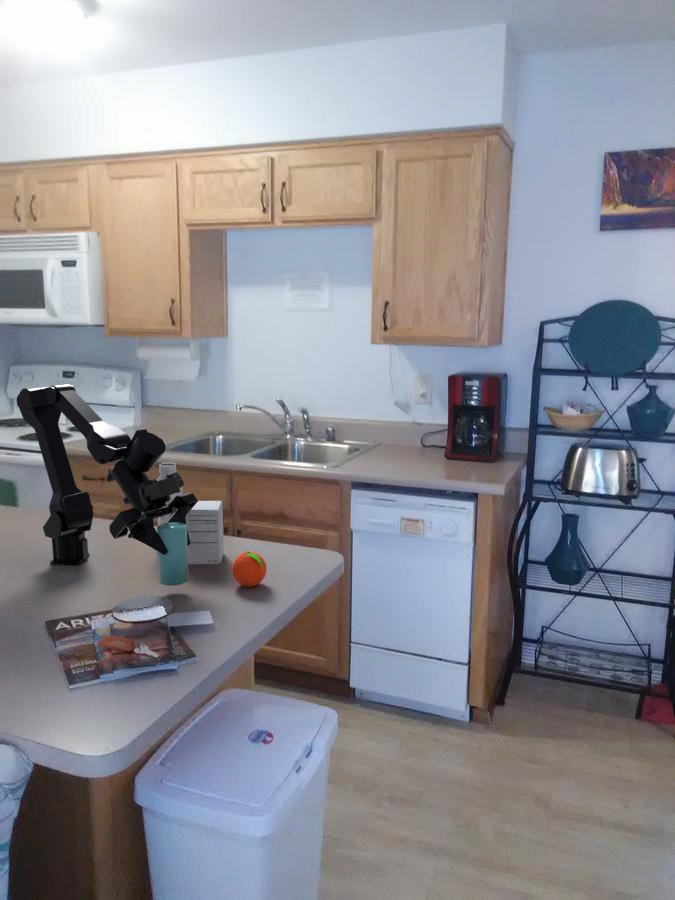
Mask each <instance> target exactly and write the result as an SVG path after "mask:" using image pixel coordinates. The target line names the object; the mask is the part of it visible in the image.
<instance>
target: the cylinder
mask: <svg viewBox="0 0 675 900" xmlns="http://www.w3.org/2000/svg"><path fill="white" fill-rule="evenodd" d="M156 531H157V533H158V535H159V536H160V538H161V539H162V541H163V543H164V544H165V546H166V548H167V550H168V553H167V554H166V555H163V554H161V553H160V552H158V551H157V555H158V557H157V558H158V582H159V583H160V584H161V585H164V586H170V587H171V586H172V587H173V586H180V585H182V584H183V585H184V584H185V583H187V582H188V581H189V564H188V548H187V525H186V524H184V523H180V522H169V523H164V524H160V525H159V526H158V525H157V527H156Z"/></svg>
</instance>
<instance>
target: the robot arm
mask: <svg viewBox="0 0 675 900" xmlns="http://www.w3.org/2000/svg"><path fill="white" fill-rule="evenodd" d="M16 405H17V408H18V409H19V411H20V414H21V417H22V418H23V420H24V421H25V422H26V423H27V424H28V425H29V426H30V427H31V428H32V429H33V430H34V432H35V435H36V439H37V443H38V445H39V449H40V453H41V457H42V459H43V460H42V461H43V463H44V466H45V471H46V473H47V477H48V480H49V483H50V487H51V491H52V496H51V499H50V502H49V505H48V508H49V515H50V516H48V519H47V521H46V522H45V523H44V525H43V526H42V529H43V530H42V531H43V533H44V536H45V537H46V538H50V539H51V546H52V560H50V561H49V564H50V565H68V566H71V565H74V566H75V565H77V566H78V565H80V564H81V563H82V562H84V560H86V559H87V558H88V557H89V556H90V552H89V546H88V544H89V543H88V538H86V534H85V532H89V531H91V529H92V525H93V524H92V523H93V519H94V510H93V509H94V506H93V504H92V502H91V496H90V494H89V493H88V491H83V490H82V489H80V488H79V487H78V486H77V484H76V483H77V482H76V480H75V477H74V473H73V470H72V466H71V463H70V460H69V456H68V453H67V450H66V449H67V448H66V446H65V442H64V439H63V435H62V432H61V429H60V426H59V422H60V418H61V416H62V414H63V416H65V418H66V419H68V421H69V422H70V423H71V424H72V425H73V426H74V427H75V428H76V429H77V430H78V431H79V432H80V434H82V436H83V437H84V438H85V440H86V449H87V450H88V452H89V453H90V455H91V456H92V458H93V459H94V460H95V461H96V462H97V463H98V464H100V465H105V464H109V463H115V462H116V463H115V464H114V466H113V467H109V468H108V470H107V471H108V472H107V475H106V482H108V483H110V482H114V481H115V482H116V484H117V485H118V487H119V488H120V491H122V493H123V494H124V499H123V502H124V504H125V505H129V504H130V506H131V507H132V508H129V509H125V510H123V511H119V513H118V514H117V515H116V516H115V518H113V521H111V522H110V524H109V533H110V534H111V536H112V538H113V539H114V540H117V539H120V538H124V537H125V536H127V538H128V539H134V540H135V541H139V542H140V543H142V544H145V545H146V546H148V547H149V548H151V549H153V550H154V551H156V552H157V553H158V552H160V553H161V554H163V555H166V554H167V553H168V550H167V548H166V546H165V544H164V543H163V541H162V539H161V538H160V536H159V535H158V533H157V529H156V528H155V525H154V519H158V518H159V517H162V516H166V517H167V519H168V520H169V521H168V522H167V523H169V522H180V523H184V524H186V515H187V514H188V513H189V511H190V510H191V509H192V508H193V507H194V506H195V504H196V503H197V502H198V501H199V500H198V498H197V497H196V496H195V494H194V493H193V492H190V491H187V492H185V493H182V494H181V495H177V496H176V497H175V498H174V499H173V501H172V502H171V503H170V504H168V505H166V504H165V503H166V502H167V501H169V500H170V498H171V497H170V496H169V495H172V494H174V493H176V492H177V493H179V492H181V491H180V488H181V487H183V488H184V486H185V483H184V482H185V481H184V480H183V477H182V476H181V475H180V473H178V472H175V473H171V474H170V475H167V476H166V479H163V480H160V481H157V479H155V478H154V479H153V478H152V479H150V477H149V475H148V474H147V472H150V471H151V470H152V469H153V468H154V466H155V465H156V463H158V461H159V460H160V458H161V457H162V456H163V455H164V453H165V452H166V449H167V447H166V444H165V441H164V440H163V439H162V438H160V437H159V436H158V435H156V434H155V433H153V432H152V433H151V432H148V430H147V428H140V429H137V430H136V431H135V432H134V434H133V436H132V437H130V436H129V435H128V434H127V433H126V432H125V431H124V430H123V429H121V428H119V426H118V427H117V426H115V425H112V424H110V423H107V422H105V421H104V420H103V419H102V418H101V416H99V414H98V413H96V412H95V411H94V409H93V408H91V406H90V405H89V404H88V403H87V402H86V401H85V400H84V399H83V398H82V397H81V396H80V395H79V394H78V393H77V391H76V388H75V387H74V385H71V384H69V383H63V384H54V385H46V386H45V385H44V386H35V387H26V388H22V389H21V390H20V392H19V393H18V395H17V396H16ZM190 544H191V542H190V538H189V534H188V529H187V546H189V545H190Z"/></svg>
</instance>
